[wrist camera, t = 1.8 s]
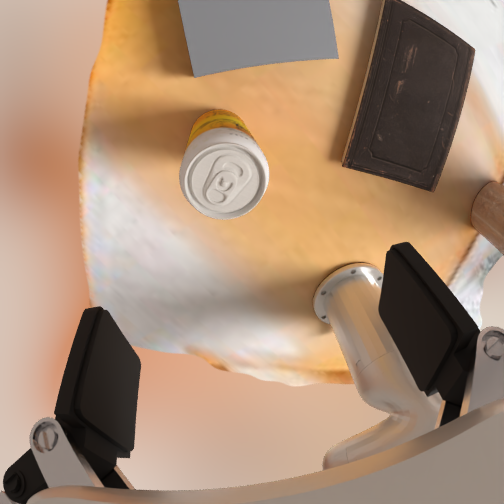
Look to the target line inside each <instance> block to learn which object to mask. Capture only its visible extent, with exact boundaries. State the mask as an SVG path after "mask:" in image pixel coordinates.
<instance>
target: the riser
mask: <svg viewBox="0 0 504 504" xmlns="http://www.w3.org/2000/svg"><path fill="white" fill-rule="evenodd" d="M178 3H179V8H180V13H181V17H182V22H183V27H184V32H185V37H186V41H187V46H188V51H189V55H190V60H191V64H192V69H193V74H194V78H196V77H200V76H205V75H209V74H214V73H219V72H224V71H229V70H235V69H240V68H246V67H253V66H259V65H267V64H274V63H283V62H293V61H304V60H318V59H339V57H338V50H337V44H336V37H335V31H334V25H333V19H332V14H331V9H330V3H329V0H178Z"/></svg>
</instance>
